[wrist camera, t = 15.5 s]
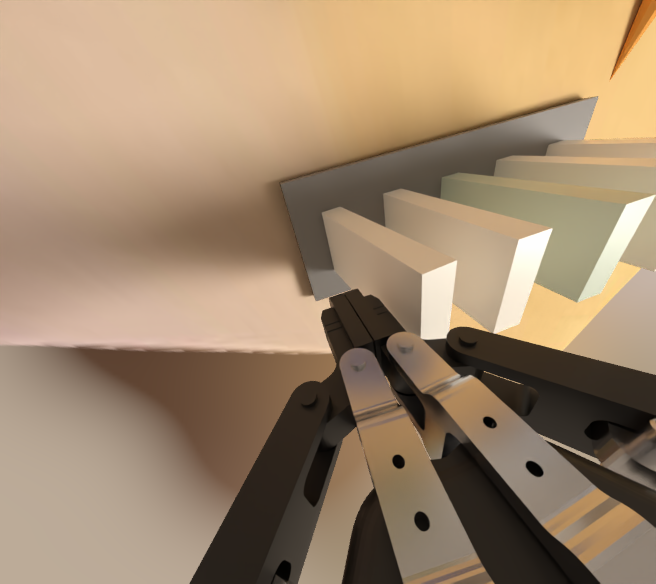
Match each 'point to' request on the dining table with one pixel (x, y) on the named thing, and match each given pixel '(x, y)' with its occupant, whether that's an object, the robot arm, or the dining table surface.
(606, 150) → the domino
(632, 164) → the domino
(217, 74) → the dining table surface
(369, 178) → the board
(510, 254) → the domino
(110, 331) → the dining table surface
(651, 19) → the carrot
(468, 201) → the pale green block
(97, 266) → the dining table surface
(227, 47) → the dining table surface
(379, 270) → the domino
